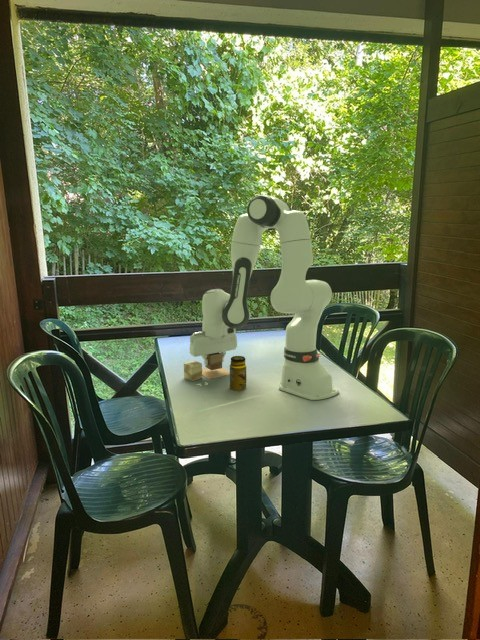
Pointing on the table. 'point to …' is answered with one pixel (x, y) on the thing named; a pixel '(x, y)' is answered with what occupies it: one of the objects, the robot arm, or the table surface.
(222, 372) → the coaster
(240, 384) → the condiment
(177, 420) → the table surface
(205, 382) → the tile
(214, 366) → the walnut block
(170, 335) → the table surface
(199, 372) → the oak block
